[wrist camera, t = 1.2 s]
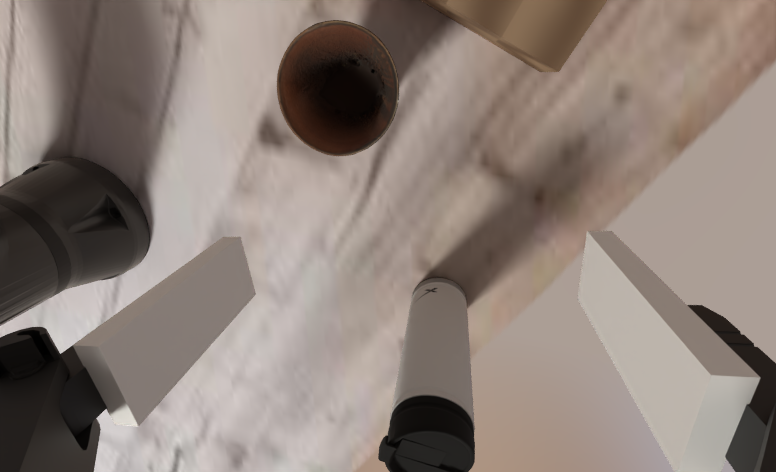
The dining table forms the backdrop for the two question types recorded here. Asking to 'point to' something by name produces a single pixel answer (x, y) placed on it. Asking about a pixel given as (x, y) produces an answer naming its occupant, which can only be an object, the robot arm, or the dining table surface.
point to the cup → (338, 87)
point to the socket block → (526, 26)
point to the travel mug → (433, 386)
